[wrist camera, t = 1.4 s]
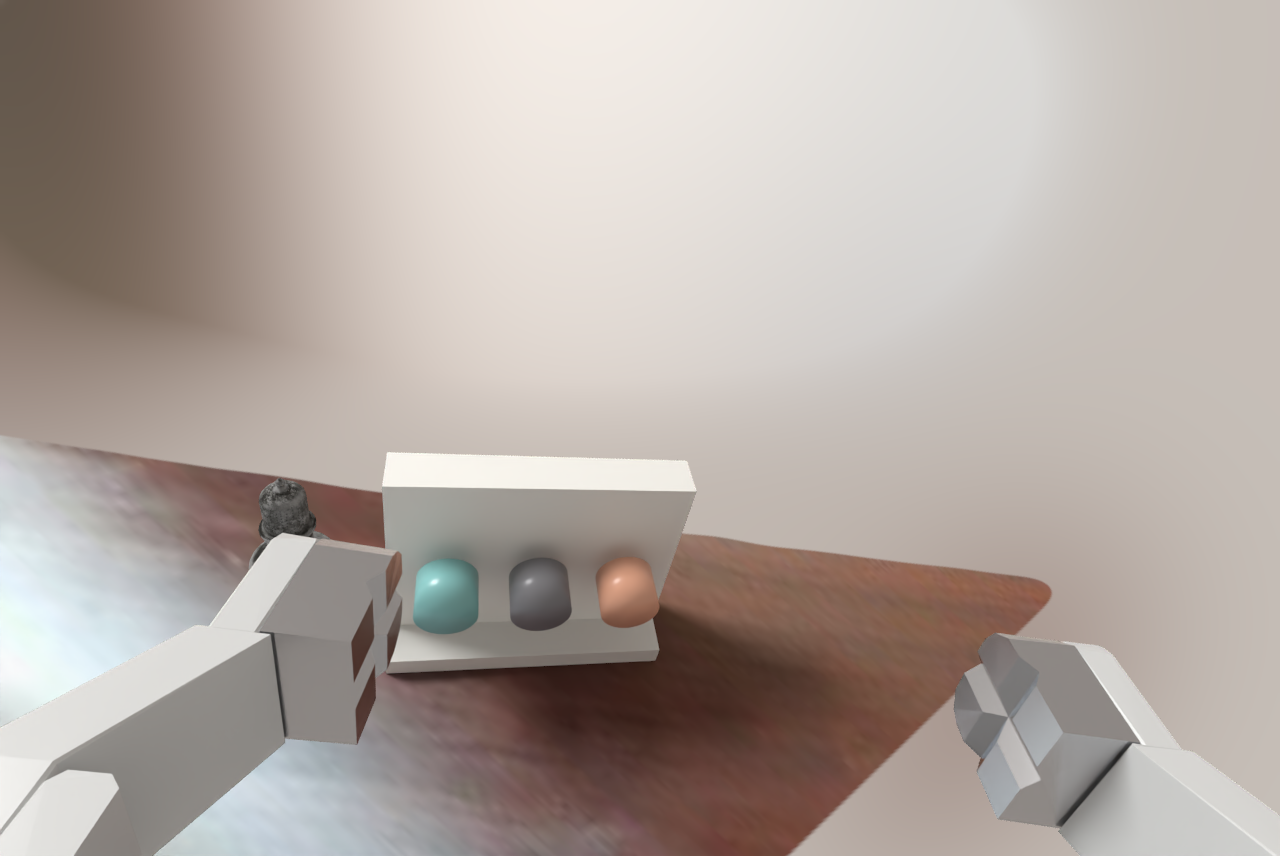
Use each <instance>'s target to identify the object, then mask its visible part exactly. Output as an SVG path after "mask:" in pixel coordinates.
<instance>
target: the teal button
mask: <svg viewBox="0 0 1280 856" xmlns="http://www.w3.org/2000/svg"><path fill="white" fill-rule="evenodd" d="M478 609H479V574H478V571H477V570H476V568H475V567H474V566H473V565H471V564H470V563H468V562H466V561H463V560H459V559H450V558H447V559H439V560H435V561H432V562H429V563H427V564H425V565H424V566H423V567H421V568H420V570H419V571H418V573H417V575H416V586H415V597H414V609H413V621H414V623H415V624H416V625H417V626H418V627H419V628H420V629H422V630H424V631H427V632H430V633H434V634H453V633H458V632H461V631H464V630H466V629H468V628H469V627H471V626H472V625H473V624H474V623H475V622H476V621H477V619H478Z"/></svg>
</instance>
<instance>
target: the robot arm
mask: <svg viewBox="0 0 1280 856" xmlns="http://www.w3.org/2000/svg"><path fill="white" fill-rule="evenodd" d="M401 575H402V554H401V553H400V552H399V551H396V550H390V549H384V548H378V547H372V546H365V545H359V544H353V543H347V542H341V541H334V540H328V539H316V538H310V537H304V536H298V535H292V534H286V533H281V534H280V535H278V536H277V537H275V538H273V539H272V540H271V541H270V543H269V544H268V545H267V547H266V548H265V549H264V551H263V552H262V554H261V555H260V556H259V558H258V559H257V560H256V562H255V563H254V565H253V566H252V567H251V569H250V570H249V572H248V573H247V574H246V576H245V577H244V578H243V580H242V581H241V583H240V584H239V585H238V587H237V588H236V589H235V591H234V592H233V594H232V595H231V596H230V598H229V599H228V600H227V602H226V603H225V605H224V606H223V607H222V609H221V610H220V612H219V613H218V614H217V616H216V617H215V618H214V620H213V621H212V623H211V624H210V625H209V626H202V625H195V626H193V627H191V628H189V629H187V630H185V631H183V632H181V633H179V634H178V635H176V636H174V637H172V638H170V639H168V640H166V641H164V642H162V643H160V644H159V645H157V646H155V647H153V648H151V649H149V650H147V651H145V652H143V653H141V654H139V655H138V656H136V657H134V658H132V659H130V660H128V661H126V662H124V663H122V664H120V665H119V666H117V667H115V668H113V669H111V670H109V671H107V672H105V673H103V674H101V675H99V676H98V677H96V678H94V679H92V680H90V681H88V682H86V683H84V684H82V685H80V686H79V687H77V688H75V689H73V690H71V691H69V692H67V693H65V694H63V695H61V696H59V697H58V698H56V699H54V700H52V701H50V702H48V703H46V704H44V705H42V706H40V707H39V708H37V709H35V710H33V711H31V712H29V713H27V714H25V715H23V716H21V717H19V718H18V719H16V720H14V721H12V722H10V723H8V724H6V725H4V726H2V727H0V856H153V855H154V854H155V853H156V852H157V851H159V850H160V849H161V848H162V847H163V846H164V845H166V844H167V843H168V842H169V841H170V840H172V839H173V838H174V837H175V836H176V835H177V834H179V833H180V832H181V831H182V830H183V829H184V828H186V827H187V826H188V825H189V824H190V823H191V822H193V821H194V820H195V819H196V818H197V817H199V816H200V815H201V814H202V813H203V812H204V811H206V810H207V809H208V808H209V807H210V806H211V805H213V804H214V803H215V802H216V801H217V800H219V799H220V798H221V797H222V796H223V795H224V794H226V793H227V792H228V791H229V790H230V789H231V788H233V787H234V786H235V785H236V784H237V783H239V782H240V781H241V780H242V779H243V778H244V777H246V776H247V775H248V774H249V773H250V772H251V771H253V770H254V769H255V768H256V767H257V766H258V765H260V764H261V763H262V762H263V761H264V760H266V759H267V758H268V757H269V756H270V755H271V754H273V753H274V752H275V751H276V750H277V749H278V748H280V747H281V746H282V745H283V744H284V743H285V738H286V739H297V740H308V741H320V742H331V743H342V744H354V745H357V743H358V741H359V738H360V736H361V733H362V731H363V729H364V726H365V724H366V721H367V719H368V716H369V714H370V711H371V709H372V706H373V704H374V701H375V699H376V688H375V678H376V677H377V676H379V675H380V674H382V673H383V672H384V671H386V670H387V669H388V666H389V664H390V661H391V659H392V656H393V653H394V651H395V647H396V643H397V639H398V635H399V631H400V625H401V617H402V597H401V596H400V595H399V594H398V593H397V591H396V590H395V589H396V587H397V585H398V582H399V580H400V578H401ZM978 654H979V657H980V661H981V664H980V665H978V666H976V667H974V668H972V669H971V670H969V671H967V672H965V673H964V675H963V677H962V679H961V680H960V682H959V684H958V686H957V688H956V691H955V702H954V712H955V718H956V723H957V726H958V729H959V731H960V734H961V736H962V739H963V741H964V742H965V743H966V744H967V745H968V746H969V747H970V748H971V749H972V750H973V751H974V752H975V753H976V754H977V755H979V756H980V757H981V759H980V762H979V766H978V769H977V773H978V776H979V778H980V780H981V782H982V785H983V787H984V789H985V792H986V794H987V796H988V798H989V801H990V803H991V805H992V807H993V810H994V812H995V814H996V816H997V819H1000V820H1007V821H1014V822H1021V823H1027V824H1034V825H1041V826H1048V827H1055V828H1060V830H1059V831H1058V832H1059V833H1060V834H1061V835H1062V836H1063V837H1064V838H1065V839H1066V841H1068V843H1069V844H1070V845H1071V846H1072V847H1073V848H1074V849H1075V850H1076V852H1077V853H1078V854H1079V855H1080V856H1280V815H1278V814H1277V813H1276V812H1274V811H1273V810H1272V809H1270V808H1269V807H1268V806H1266V805H1265V804H1263V803H1262V802H1261V801H1259V800H1258V799H1257V798H1255V797H1254V796H1253V795H1251V794H1250V793H1248V792H1247V791H1246V790H1245V789H1243V788H1242V787H1240V786H1239V785H1238V784H1236V783H1235V782H1234V781H1232V780H1231V779H1229V778H1228V777H1227V776H1226V775H1224V774H1223V773H1222V772H1220V771H1219V770H1217V769H1216V768H1215V767H1213V766H1212V765H1211V764H1209V763H1208V762H1207V761H1205V760H1204V759H1203V758H1201V757H1200V756H1199V755H1197V754H1196V753H1194V752H1192V751H1186V750H1182V749H1181V748H1180V746H1179V745H1178V744H1177V742H1176V741H1175V740H1174V738H1173V737H1172V736H1171V734H1170V733H1169V731H1168V730H1167V729H1166V727H1165V726H1164V725H1163V723H1162V722H1161V720H1160V719H1159V718H1158V716H1157V715H1156V714H1155V712H1154V711H1153V709H1152V708H1151V707H1150V706H1149V704H1148V703H1147V701H1146V700H1145V699H1144V697H1143V696H1142V694H1141V693H1140V692H1139V691H1138V689H1137V688H1136V686H1135V685H1134V684H1133V682H1132V681H1131V679H1130V678H1129V677H1128V675H1127V674H1126V673H1125V671H1124V670H1123V668H1122V667H1121V666H1120V664H1119V663H1118V662H1117V660H1116V659H1115V657H1114V656H1113V655H1112V654H1111V653H1110V652H1108V651H1107V650H1106V649H1104V648H1103V647H1101V646H1097V645H1089V644H1081V643H1073V642H1060V641H1054V640H1047V639H1039V638H1031V637H1023V636H1016V635H1008V634H1000V633H994V634H993V635H991V636H989V637H988V638H986V639H985V641H984V642H983V644H982V645H981V647H980V648H979V650H978Z"/></svg>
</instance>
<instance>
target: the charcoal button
mask: <svg viewBox="0 0 1280 856" xmlns="http://www.w3.org/2000/svg"><path fill="white" fill-rule="evenodd" d="M509 598H510V618H511V621H512V622H513V624H515V625H516V626H517V627H519V628H522V629H525V630H529V631H543V630H549V629H552V628H555V627H558V626H560V625H561V624H563V623H564V622H566V621H567V620H568V618H569V617H570V615H571V613H572V607H571V599H570V590H569V581H568V572H567V569H566V567H565V566H564V565H563V564H562V563H561V562H559V561H557V560H554V559H551V558H533V559H529V560H526V561H523V562H521V563H519V564H518V565H516V566H515V567H514V568H513V569H512V570H511V572H510V574H509Z"/></svg>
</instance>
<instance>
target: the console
mask: <svg viewBox="0 0 1280 856" xmlns="http://www.w3.org/2000/svg"><path fill="white" fill-rule="evenodd" d="M382 492H383V510H384V529H385V548H386V549H390V550H396V551H399V552H400V553H401V554H402V575H401V578H400V580H399V582H398V585H397V587H396V589H395V590H396V591H397V593H398V594H399V595H400V596H401V597H402V617H401V625H400V631H399V635H398V639H397V643H396V647H395V651H394V653H393V656H392V659H391V661H390V664H389V666H388V669H387V670H386V674H388V673H409V672H430V671H450V670H471V669H492V668H513V667H533V666H554V665H575V664H596V663H616V662H637V661H655V660H656V658H657V655H658V652H659V646H658V641H657V636H656V632H655V627H654V622H653V618H652V619H651V620H649V621H648V622H646V623H644V624H641V625H639V626H635V627H629V628H617V627H613V626H610V625H608V624H606V623H605V622H604V621H603V620H602V618H601V613H600V606H599V599H598V593H597V586H596V578H595V577H596V573H597V571H598V570H599V569H600V568H601V567H602V566H603V565H604V564H606V563H607V562H609V561H611V560H614V559H617V558H622V557H636V558H640V559H643V560H645V561H646V562H647V563H648V564H649V565H650V567H651V570H652V575H653V579H654V584H655V588H656V593H657V597H658V600H659V597H660V594H661V591H662V588H663V585H664V583H665V580H666V577H667V574H668V571H669V568H670V566H671V563H672V560H673V557H674V554H675V551H676V549H677V546H678V543H679V540H680V537H681V534H682V531H683V529H684V526H685V523H686V520H687V517H688V514H689V512H690V509H691V506H692V503H693V500H694V497H695V495H696V492H697V491H696V488H695V485H694V482H693V478H692V475H691V472H690V469H689V466H688V462H687V461H679V460H676V461H675V460H643V459H607V458H606V459H605V458H570V457H532V456H498V455H497V456H495V455H462V454H461V455H460V454H425V453H389V452H388V453H387V457H386V464H385V471H384V478H383V484H382ZM447 558H450V559H459V560H463V561H466V562H468V563H470V564H471V565H473V566H474V567H475V568H476V570H477V571H478V574H479V609H478V619H477V621H476V622H475V623H474V624H473V625H472V626H471V627H469V628H468V629H466V630H464V631H461V632H458V633H453V634H434V633H430V632H427V631H424V630H422V629H420V628H419V627H418V626H417V625H416V624H415V623H414V621H413V609H414V597H415V586H416V575H417V573H418V571H419V570H420V568H421V567H423V566H424V565H425V564H427V563H429V562H432V561H435V560H439V559H447ZM533 558H551V559H554V560H557V561H559V562H561V563H562V564H563V565H564V566H565V567H566V569H567V572H568V581H569V590H570V599H571V607H572V613H571V615H570V617H569V618H568V620H567V621H566V622H564V623H563V624H561V625H560V626H558V627H555V628H552V629H549V630H543V631H529V630H525V629H522V628H519V627H517V626H516V625H515V624H513V622H512V621H511V618H510V598H509V574H510V572H511V570H512V569H513V568H514V567H515V566H516V565H518V564H519V563H521V562H523V561H526V560H529V559H533Z"/></svg>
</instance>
